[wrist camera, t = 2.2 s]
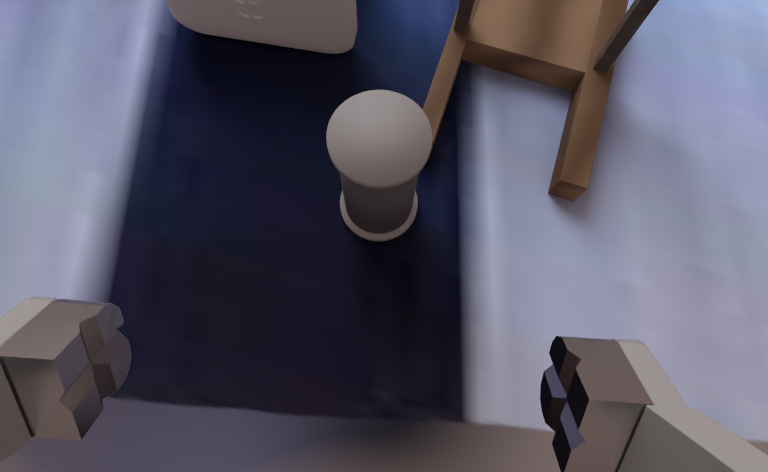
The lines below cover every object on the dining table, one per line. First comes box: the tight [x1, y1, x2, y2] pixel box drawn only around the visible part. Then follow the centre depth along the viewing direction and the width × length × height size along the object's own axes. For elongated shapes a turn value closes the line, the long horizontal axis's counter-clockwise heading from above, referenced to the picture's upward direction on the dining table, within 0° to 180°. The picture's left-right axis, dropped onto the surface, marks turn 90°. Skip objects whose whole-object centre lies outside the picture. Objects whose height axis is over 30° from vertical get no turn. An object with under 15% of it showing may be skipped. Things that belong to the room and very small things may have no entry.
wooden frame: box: [423, 0, 659, 201], centre depth 33 cm, size 13×18×14 cm
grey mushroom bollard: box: [326, 90, 432, 242], centre depth 31 cm, size 6×6×11 cm
